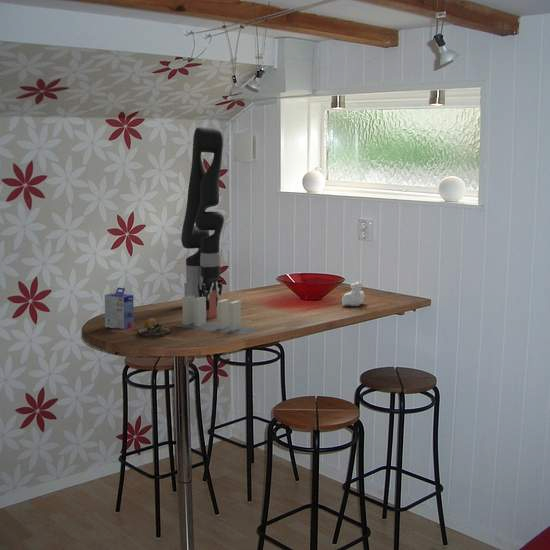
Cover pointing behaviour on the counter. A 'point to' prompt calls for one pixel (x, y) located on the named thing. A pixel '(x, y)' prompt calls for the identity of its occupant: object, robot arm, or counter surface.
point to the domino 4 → (234, 315)
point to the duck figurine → (354, 295)
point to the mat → (213, 327)
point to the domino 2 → (199, 311)
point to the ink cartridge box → (119, 310)
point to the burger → (153, 329)
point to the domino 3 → (223, 314)
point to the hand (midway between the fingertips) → (210, 308)
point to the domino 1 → (188, 310)
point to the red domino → (212, 305)
